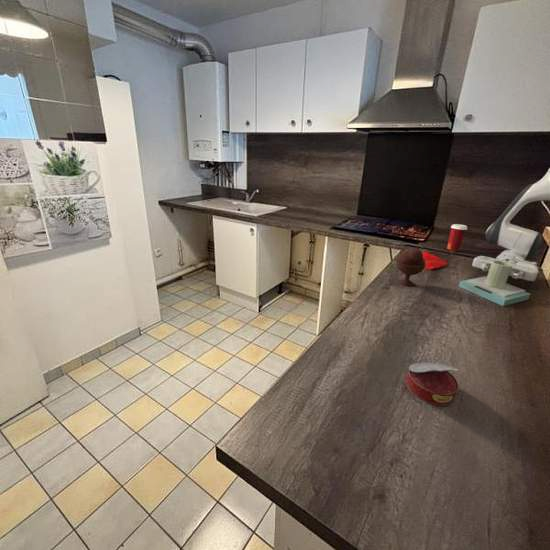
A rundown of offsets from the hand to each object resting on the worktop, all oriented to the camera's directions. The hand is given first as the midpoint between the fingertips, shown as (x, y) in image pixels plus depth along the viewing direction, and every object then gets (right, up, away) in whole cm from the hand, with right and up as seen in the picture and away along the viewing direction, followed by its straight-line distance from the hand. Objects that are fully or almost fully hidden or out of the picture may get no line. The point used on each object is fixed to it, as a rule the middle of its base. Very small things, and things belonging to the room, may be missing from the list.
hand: (499, 272), depth 108 cm
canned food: (-49, -26, -43) cm, 70 cm away
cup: (0, -5, +3) cm, 6 cm away
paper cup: (+15, +13, +53) cm, 56 cm away
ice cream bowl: (-31, -4, +10) cm, 32 cm away
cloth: (-7, +6, +35) cm, 36 cm away
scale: (0, -8, +4) cm, 9 cm away
